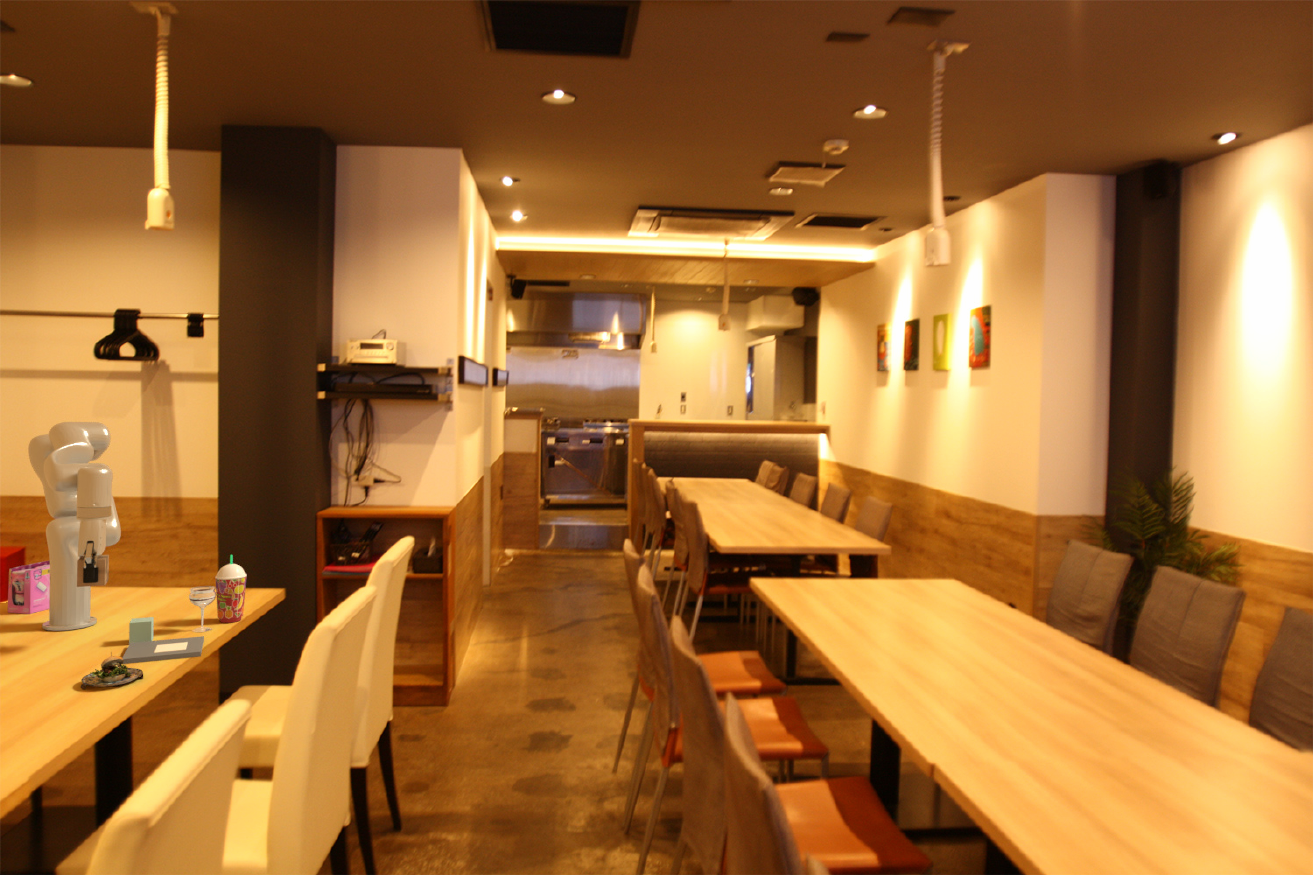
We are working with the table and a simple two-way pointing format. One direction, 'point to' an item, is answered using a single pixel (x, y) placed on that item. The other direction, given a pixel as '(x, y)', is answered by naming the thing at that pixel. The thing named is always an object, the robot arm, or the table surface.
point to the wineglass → (202, 601)
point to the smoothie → (230, 592)
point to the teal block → (141, 629)
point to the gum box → (29, 588)
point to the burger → (111, 674)
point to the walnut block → (102, 571)
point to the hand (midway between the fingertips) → (93, 579)
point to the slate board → (163, 649)
